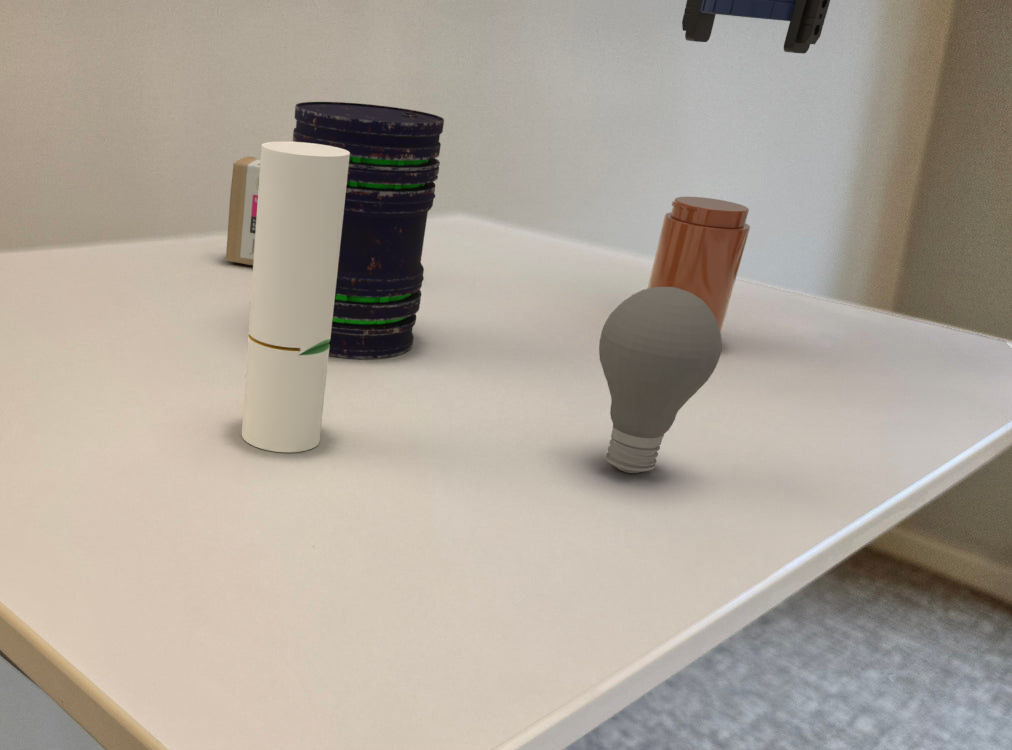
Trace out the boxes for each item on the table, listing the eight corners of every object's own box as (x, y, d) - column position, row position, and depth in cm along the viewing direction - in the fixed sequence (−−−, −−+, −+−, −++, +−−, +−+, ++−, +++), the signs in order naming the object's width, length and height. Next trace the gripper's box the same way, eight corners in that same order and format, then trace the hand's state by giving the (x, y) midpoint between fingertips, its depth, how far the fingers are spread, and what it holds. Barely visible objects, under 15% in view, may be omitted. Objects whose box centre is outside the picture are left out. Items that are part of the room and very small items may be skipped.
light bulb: (653, 448, 62) (698, 275, 57) (705, 493, 57) (759, 307, 52) (556, 447, 61) (593, 271, 56) (600, 493, 56) (646, 303, 51)
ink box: (223, 263, 92) (229, 161, 88) (238, 254, 95) (244, 155, 92) (338, 281, 90) (349, 177, 86) (349, 272, 93) (360, 171, 89)
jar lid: (733, 16, 69) (739, -11, 68) (681, 10, 75) (686, -14, 74) (826, 24, 70) (834, -1, 70) (768, 18, 76) (774, -6, 75)
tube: (249, 452, 57) (270, 153, 50) (235, 422, 60) (254, 139, 53) (327, 452, 57) (360, 158, 50) (310, 422, 61) (337, 144, 54)
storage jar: (302, 361, 71) (324, 119, 64) (257, 317, 79) (273, 98, 72) (438, 357, 74) (473, 126, 67) (381, 315, 82) (408, 105, 75)
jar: (663, 324, 87) (696, 193, 82) (731, 345, 83) (770, 209, 78) (621, 334, 83) (653, 197, 78) (690, 356, 79) (728, 214, 74)
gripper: (682, -255, 68) (623, 35, 76) (915, -275, 59) (821, 57, 66) (742, -232, 73) (680, 38, 80) (967, -248, 63) (873, 60, 71)
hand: (744, 46), depth 73 cm, fingers closed on jar lid, 6 cm apart
